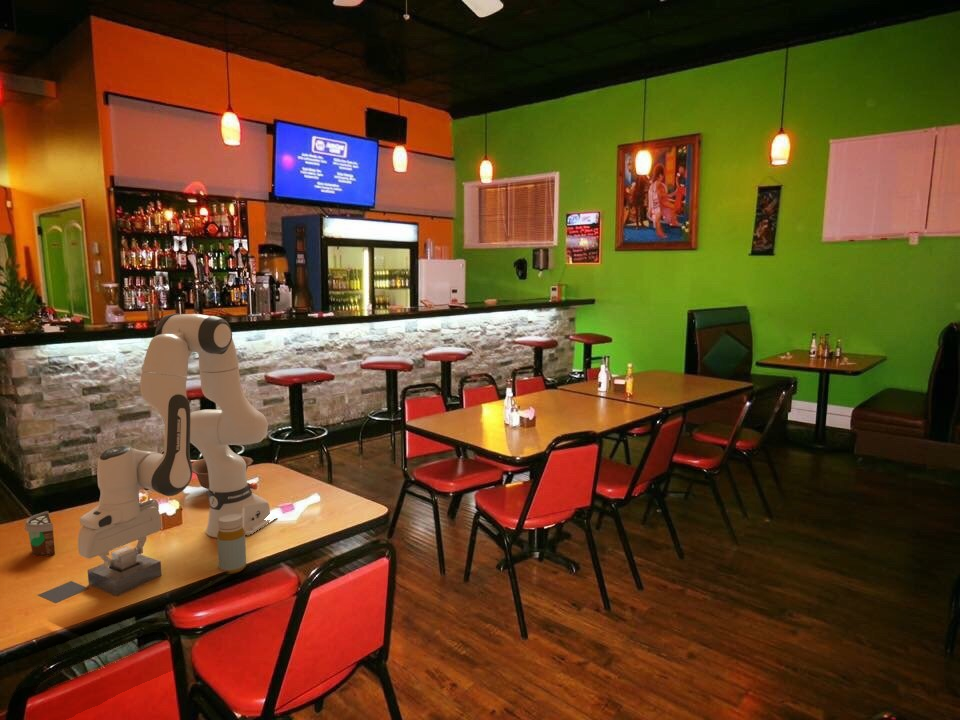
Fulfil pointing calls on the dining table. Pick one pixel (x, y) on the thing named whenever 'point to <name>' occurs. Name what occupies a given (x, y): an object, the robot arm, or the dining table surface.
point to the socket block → (124, 576)
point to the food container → (41, 534)
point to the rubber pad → (63, 592)
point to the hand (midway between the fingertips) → (124, 559)
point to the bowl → (202, 471)
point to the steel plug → (124, 559)
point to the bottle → (231, 543)
